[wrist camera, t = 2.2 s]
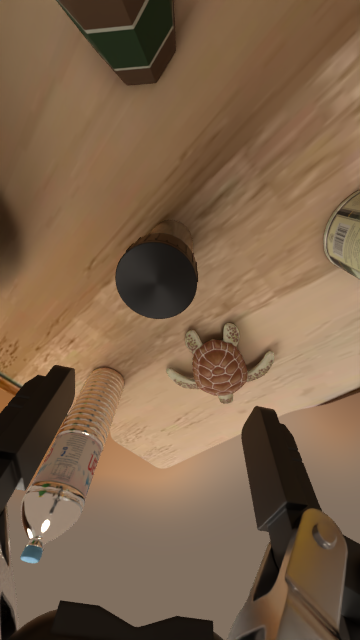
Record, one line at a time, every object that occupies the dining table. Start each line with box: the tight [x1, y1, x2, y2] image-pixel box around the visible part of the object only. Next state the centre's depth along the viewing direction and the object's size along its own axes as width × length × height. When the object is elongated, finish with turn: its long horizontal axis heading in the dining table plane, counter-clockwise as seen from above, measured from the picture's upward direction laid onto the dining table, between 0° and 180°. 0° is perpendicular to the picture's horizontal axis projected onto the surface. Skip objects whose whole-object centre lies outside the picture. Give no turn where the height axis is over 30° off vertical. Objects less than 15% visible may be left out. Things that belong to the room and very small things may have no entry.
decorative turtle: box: [166, 323, 274, 404], centre depth 39 cm, size 18×17×5 cm
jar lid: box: [115, 232, 198, 319], centre depth 21 cm, size 7×7×4 cm
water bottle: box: [21, 368, 124, 563], centre depth 35 cm, size 7×7×25 cm
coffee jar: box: [150, 220, 193, 251], centre depth 26 cm, size 6×6×14 cm
